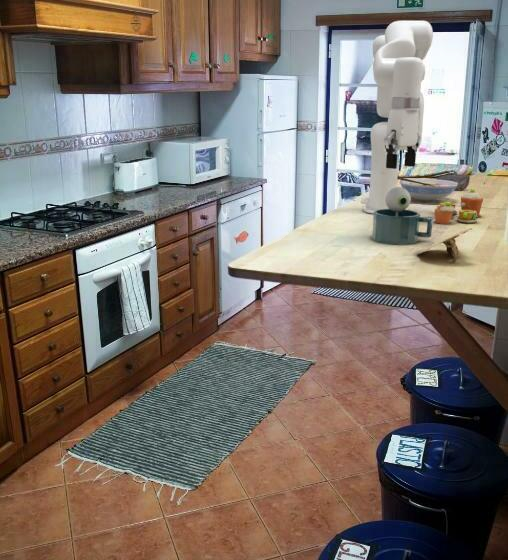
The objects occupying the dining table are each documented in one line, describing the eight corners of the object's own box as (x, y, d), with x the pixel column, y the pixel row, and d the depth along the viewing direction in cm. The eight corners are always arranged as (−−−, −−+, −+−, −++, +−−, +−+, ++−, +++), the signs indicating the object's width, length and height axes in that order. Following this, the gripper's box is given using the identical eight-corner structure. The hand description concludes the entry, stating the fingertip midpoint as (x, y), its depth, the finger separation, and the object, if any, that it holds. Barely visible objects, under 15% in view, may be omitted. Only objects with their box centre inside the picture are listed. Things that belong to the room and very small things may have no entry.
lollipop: (389, 241, 182) (393, 189, 178) (378, 236, 189) (381, 185, 184) (411, 240, 184) (416, 188, 180) (400, 235, 191) (404, 185, 186)
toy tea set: (437, 211, 233) (439, 184, 231) (482, 214, 228) (485, 187, 225) (428, 223, 210) (430, 194, 207) (477, 227, 205) (480, 197, 202)
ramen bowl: (470, 204, 249) (472, 183, 247) (421, 207, 241) (423, 185, 239) (431, 194, 271) (432, 175, 269) (385, 197, 263) (386, 177, 261)
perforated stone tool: (433, 189, 287) (434, 173, 285) (434, 187, 291) (435, 172, 289) (468, 191, 282) (470, 175, 280) (468, 190, 286) (470, 174, 284)
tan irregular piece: (414, 274, 174) (407, 247, 175) (466, 261, 174) (458, 234, 175) (431, 267, 156) (423, 237, 157) (488, 253, 156) (480, 223, 157)
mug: (370, 242, 182) (372, 215, 180) (373, 233, 194) (375, 207, 192) (431, 246, 178) (433, 218, 176) (430, 237, 190) (432, 210, 188)
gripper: (409, 104, 184) (405, 164, 189) (376, 104, 172) (372, 168, 177) (433, 105, 179) (427, 166, 184) (400, 104, 167) (395, 170, 172)
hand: (400, 167), depth 180 cm, fingers open, 9 cm apart
